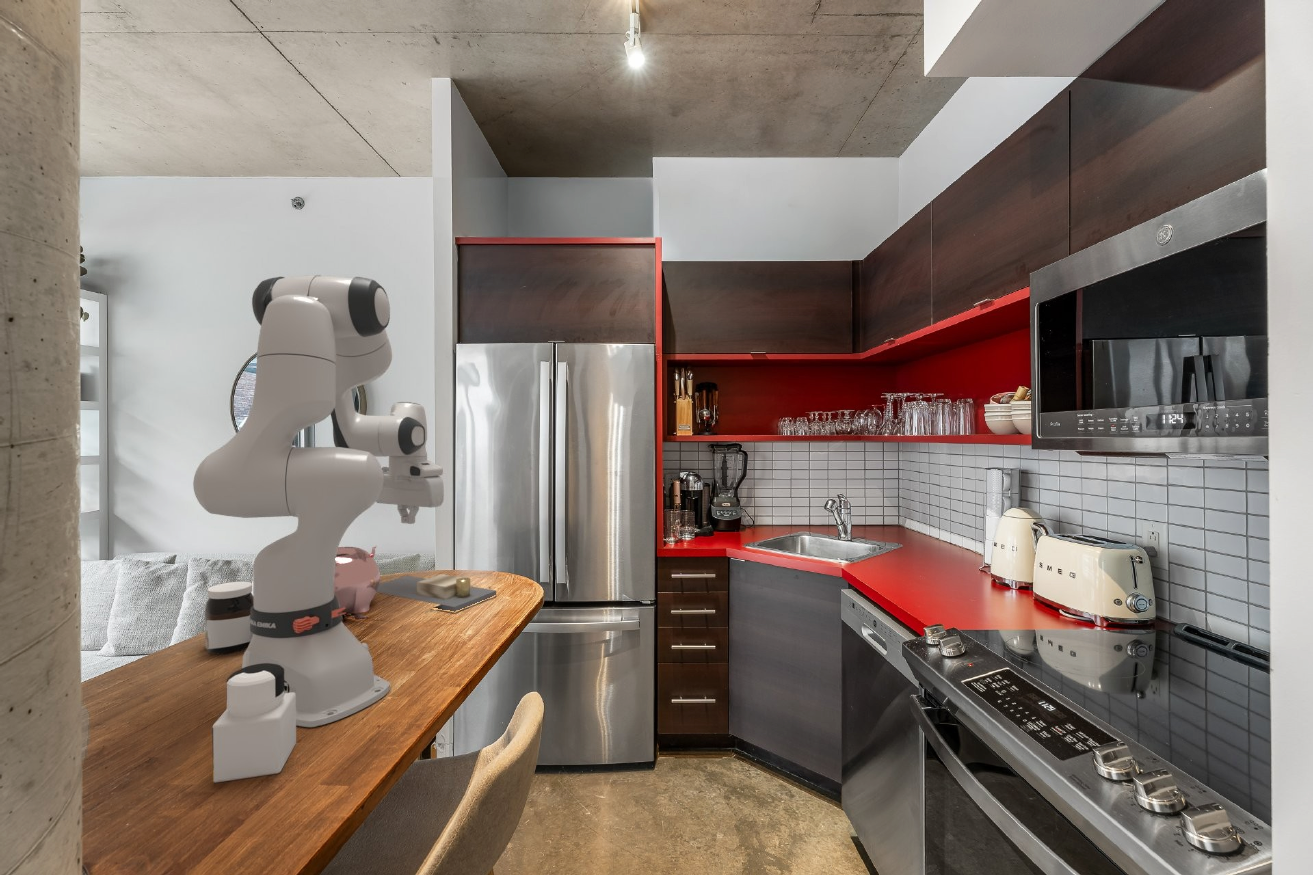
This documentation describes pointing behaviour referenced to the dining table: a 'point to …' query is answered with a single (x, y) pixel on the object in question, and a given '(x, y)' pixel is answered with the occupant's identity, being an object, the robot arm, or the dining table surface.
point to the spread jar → (228, 617)
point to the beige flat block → (438, 586)
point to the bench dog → (463, 587)
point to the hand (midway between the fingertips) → (408, 523)
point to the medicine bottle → (254, 724)
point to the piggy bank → (355, 580)
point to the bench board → (409, 590)
